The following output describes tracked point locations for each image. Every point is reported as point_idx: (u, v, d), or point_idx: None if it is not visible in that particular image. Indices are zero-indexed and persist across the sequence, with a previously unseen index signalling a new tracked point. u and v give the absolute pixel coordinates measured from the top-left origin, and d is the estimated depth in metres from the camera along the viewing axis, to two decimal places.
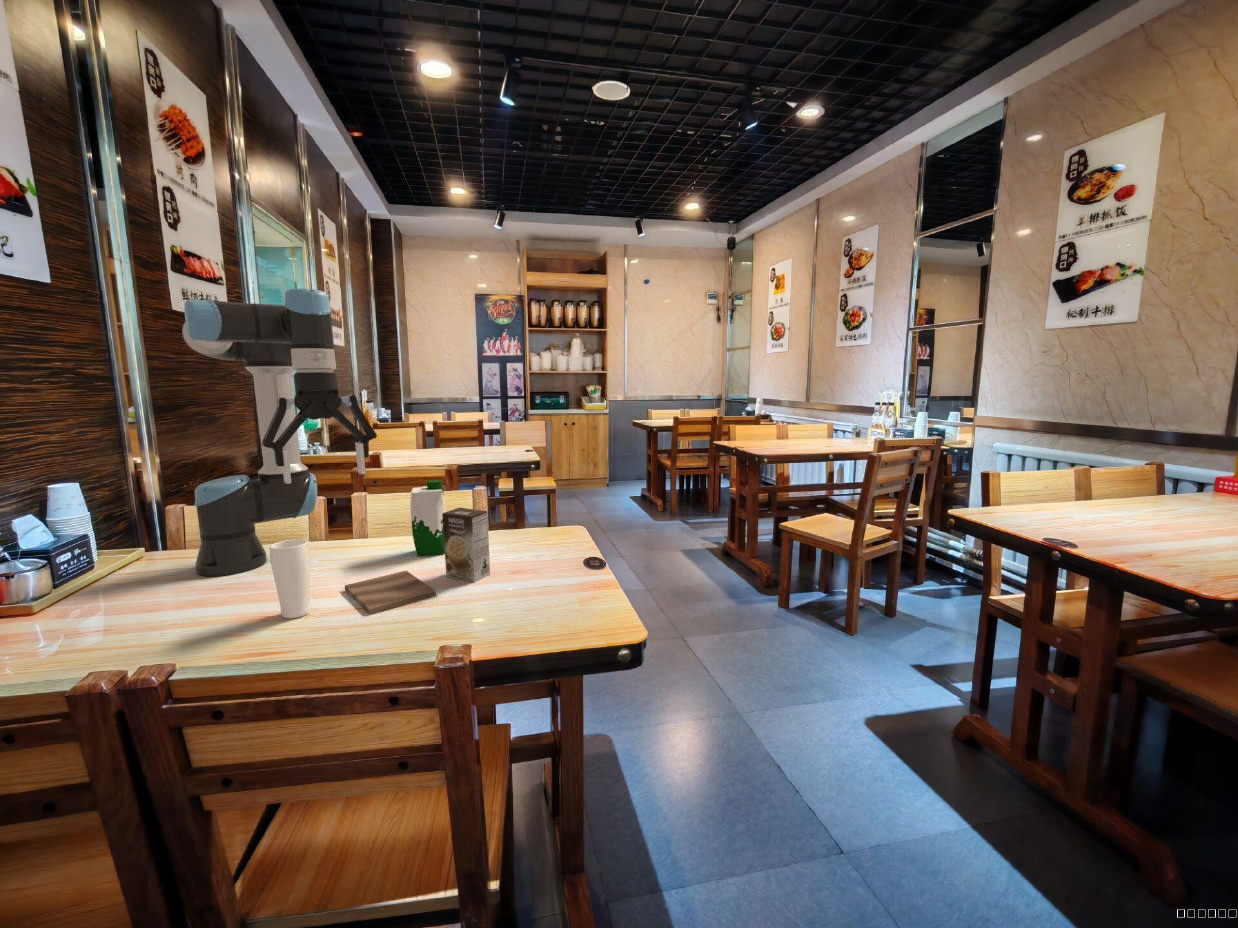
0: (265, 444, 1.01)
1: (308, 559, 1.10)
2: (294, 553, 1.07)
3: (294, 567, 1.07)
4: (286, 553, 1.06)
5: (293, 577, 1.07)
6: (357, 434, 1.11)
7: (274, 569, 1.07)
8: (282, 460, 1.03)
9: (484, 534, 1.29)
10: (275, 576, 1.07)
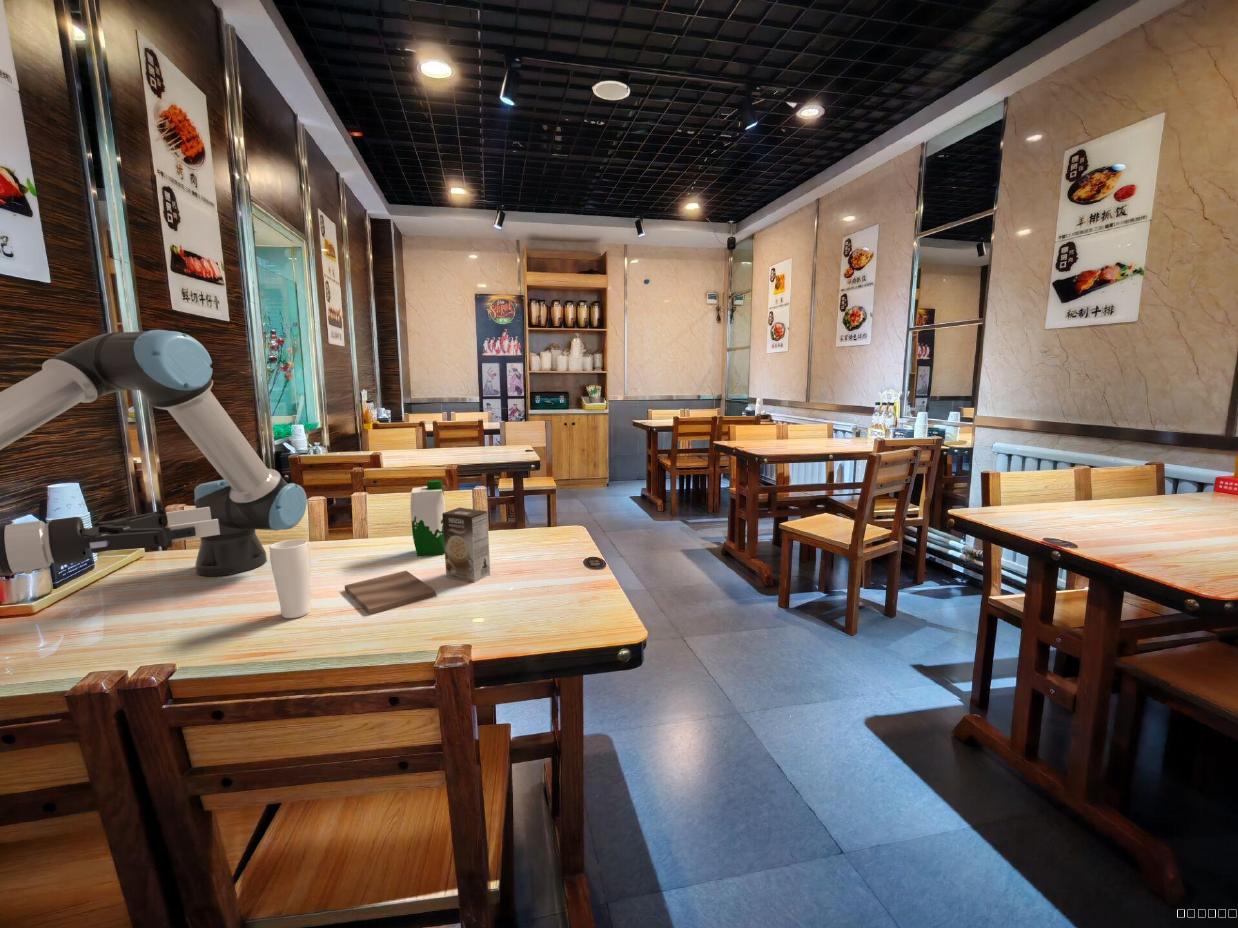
0: None
1: (308, 559, 1.10)
2: (294, 553, 1.07)
3: (294, 567, 1.07)
4: (286, 553, 1.06)
5: (293, 577, 1.07)
6: None
7: (274, 569, 1.07)
8: None
9: (484, 534, 1.29)
10: (275, 576, 1.07)
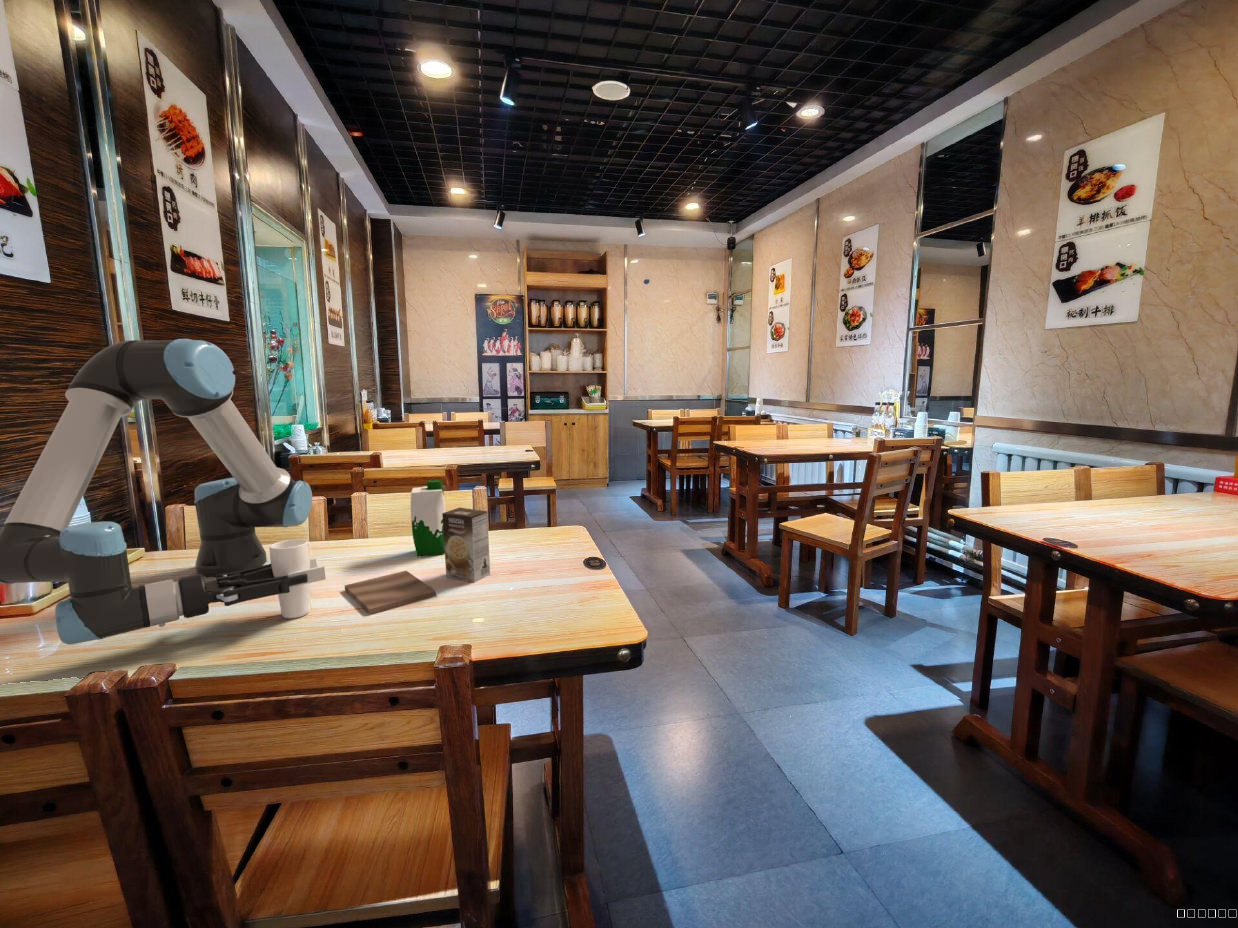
0: None
1: (308, 559, 1.10)
2: (294, 553, 1.07)
3: (294, 567, 1.07)
4: (286, 553, 1.06)
5: None
6: None
7: (274, 569, 1.07)
8: None
9: (484, 534, 1.29)
10: (275, 576, 1.07)
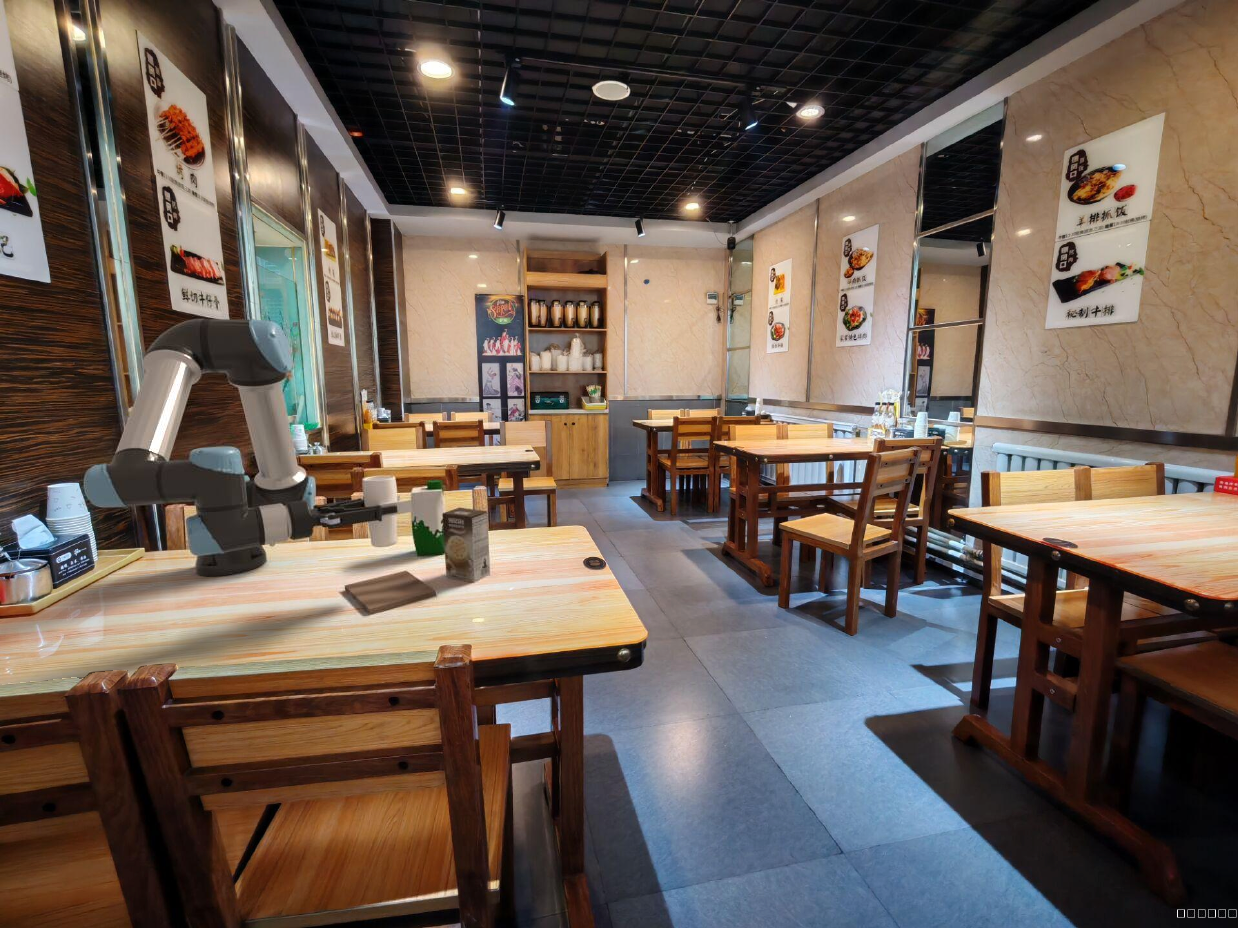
0: None
1: (396, 493, 1.18)
2: (385, 485, 1.15)
3: (385, 498, 1.15)
4: (378, 485, 1.14)
5: None
6: None
7: (367, 500, 1.15)
8: None
9: (484, 534, 1.29)
10: None
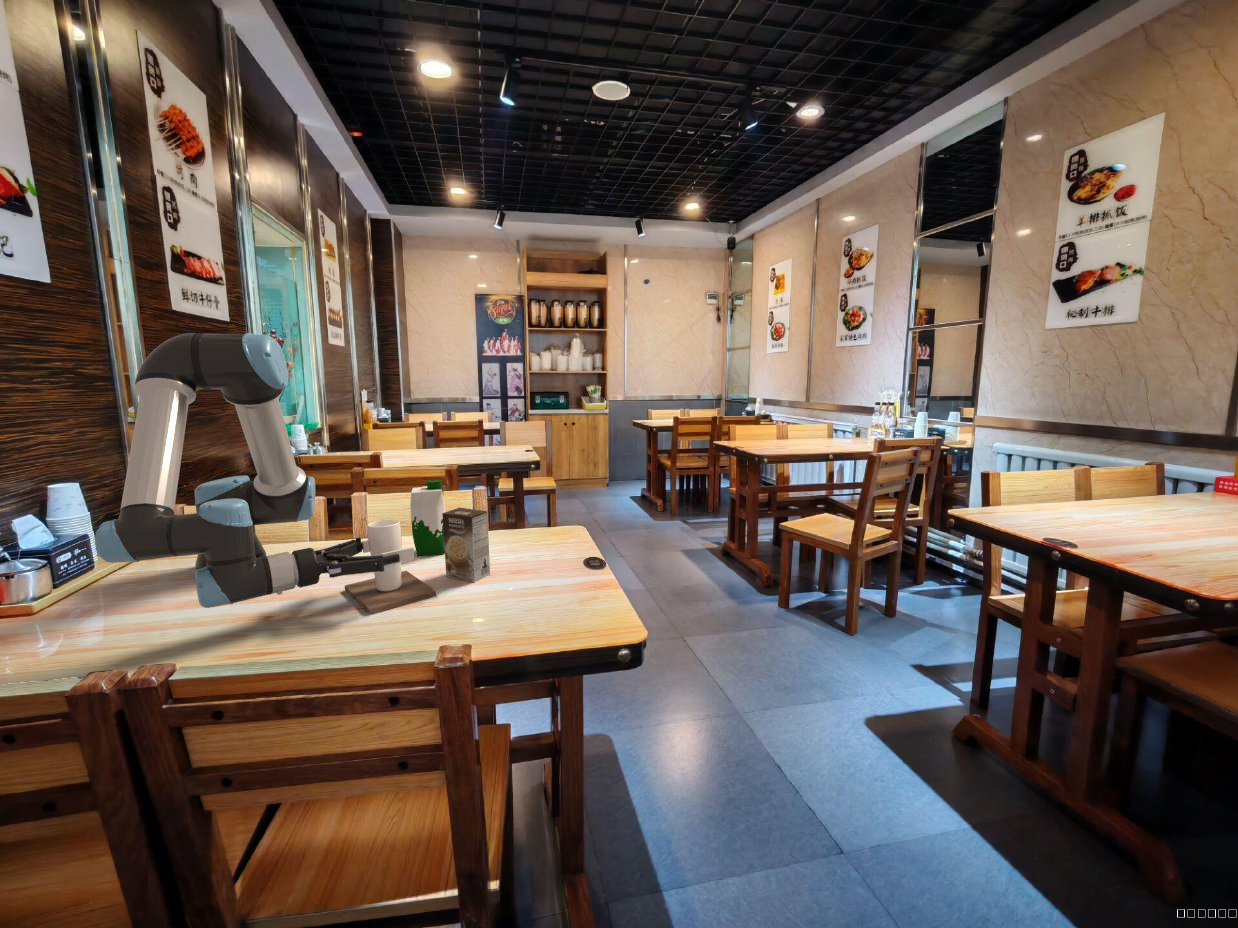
0: None
1: (400, 537, 1.20)
2: (390, 531, 1.17)
3: (390, 544, 1.17)
4: (383, 531, 1.16)
5: None
6: None
7: (372, 546, 1.17)
8: None
9: (484, 534, 1.29)
10: (372, 552, 1.17)
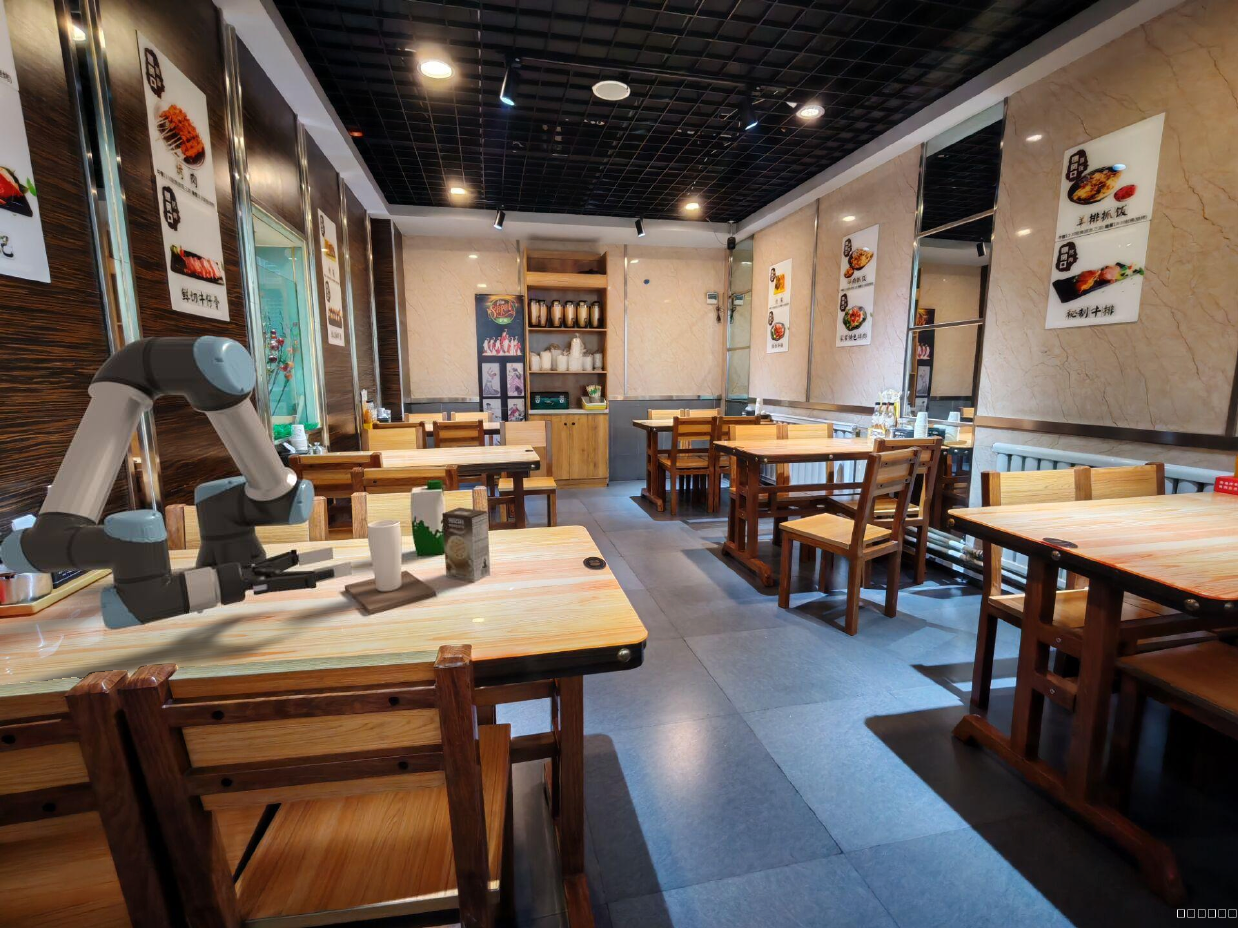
0: None
1: (400, 537, 1.20)
2: (390, 531, 1.17)
3: (390, 544, 1.17)
4: (383, 531, 1.16)
5: (389, 553, 1.17)
6: None
7: (372, 546, 1.17)
8: None
9: (484, 534, 1.29)
10: (373, 552, 1.17)
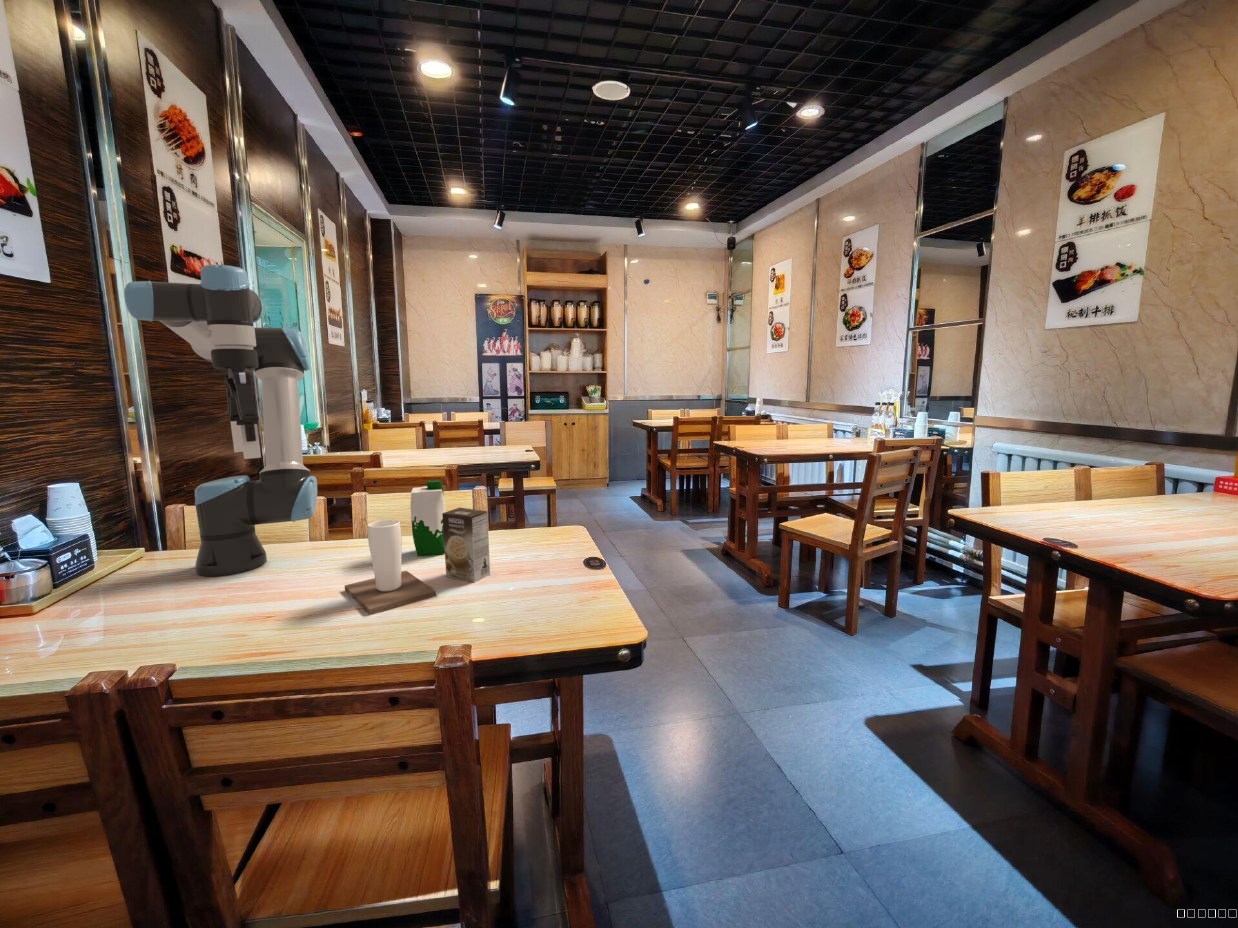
0: None
1: (400, 537, 1.20)
2: (390, 531, 1.17)
3: (390, 544, 1.17)
4: (383, 531, 1.16)
5: (389, 553, 1.17)
6: (239, 415, 1.03)
7: (372, 546, 1.17)
8: None
9: (484, 534, 1.29)
10: (373, 552, 1.17)
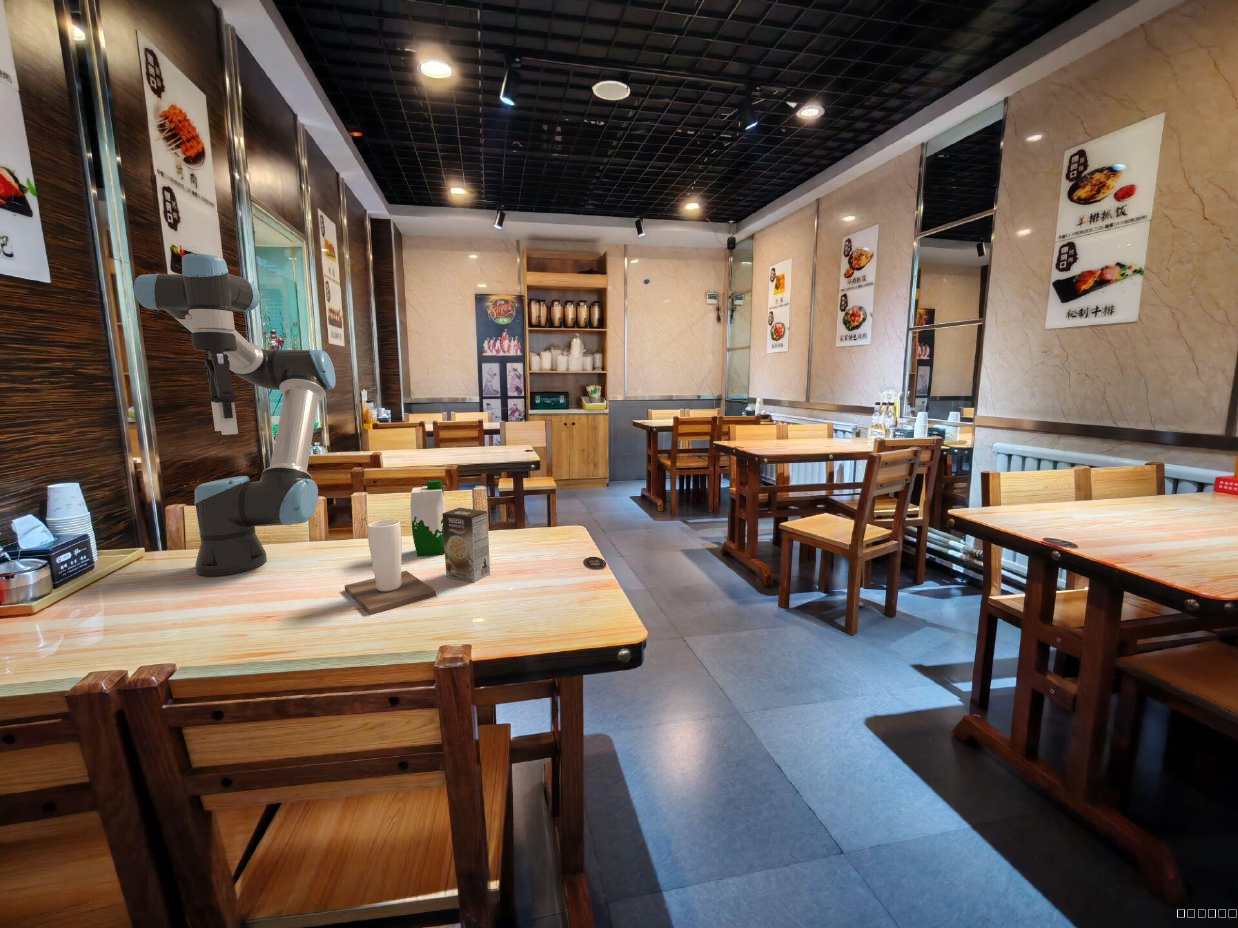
0: None
1: (400, 537, 1.20)
2: (390, 531, 1.17)
3: (390, 544, 1.17)
4: (383, 531, 1.16)
5: (389, 553, 1.17)
6: (217, 393, 1.11)
7: (372, 546, 1.17)
8: None
9: (484, 534, 1.29)
10: (373, 552, 1.17)
